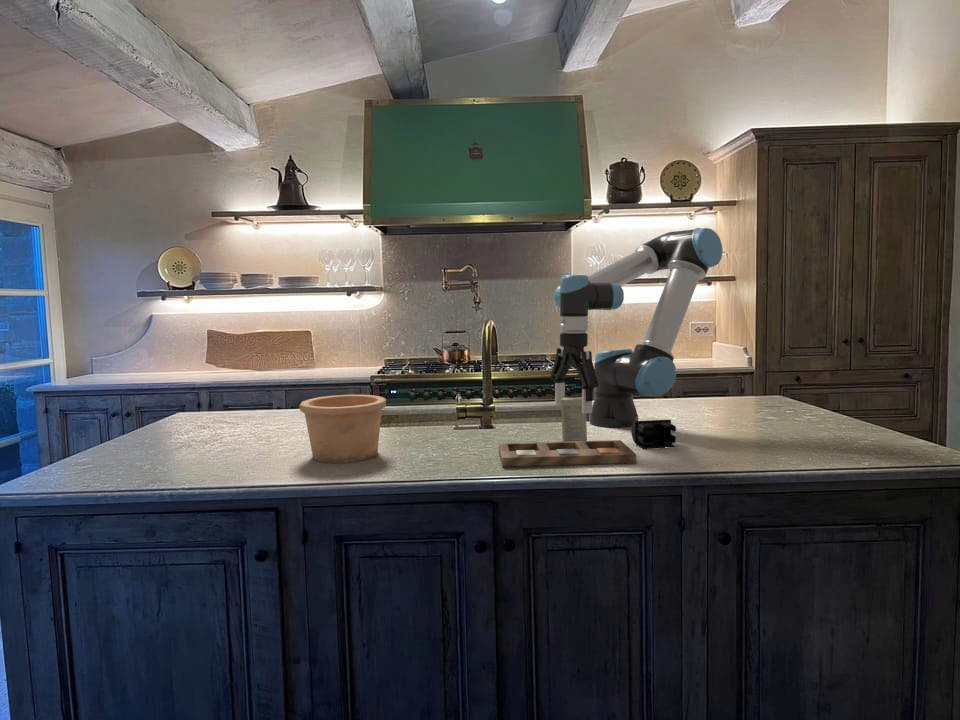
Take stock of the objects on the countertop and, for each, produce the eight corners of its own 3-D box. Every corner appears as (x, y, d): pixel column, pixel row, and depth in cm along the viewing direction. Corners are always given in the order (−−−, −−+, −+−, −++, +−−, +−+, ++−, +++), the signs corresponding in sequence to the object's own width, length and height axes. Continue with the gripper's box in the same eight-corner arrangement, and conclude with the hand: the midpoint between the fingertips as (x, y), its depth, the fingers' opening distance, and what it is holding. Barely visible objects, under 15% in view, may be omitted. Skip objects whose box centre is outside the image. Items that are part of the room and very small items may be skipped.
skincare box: (587, 440, 179) (587, 397, 178) (584, 444, 175) (584, 399, 174) (564, 439, 181) (564, 396, 180) (561, 442, 177) (561, 398, 176)
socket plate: (502, 467, 152) (502, 456, 152) (498, 452, 167) (498, 441, 167) (636, 464, 153) (636, 452, 153) (620, 449, 168) (620, 438, 168)
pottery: (315, 446, 179) (313, 395, 177) (394, 445, 178) (392, 393, 177) (290, 466, 157) (287, 408, 156) (379, 465, 156) (377, 407, 155)
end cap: (666, 441, 176) (666, 417, 175) (677, 447, 169) (677, 422, 168) (631, 443, 175) (631, 419, 174) (640, 449, 168) (640, 424, 167)
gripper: (538, 330, 185) (538, 403, 186) (588, 334, 162) (587, 417, 164) (561, 330, 188) (560, 401, 190) (612, 333, 165) (611, 415, 167)
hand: (572, 409), depth 177 cm, fingers open, 13 cm apart
